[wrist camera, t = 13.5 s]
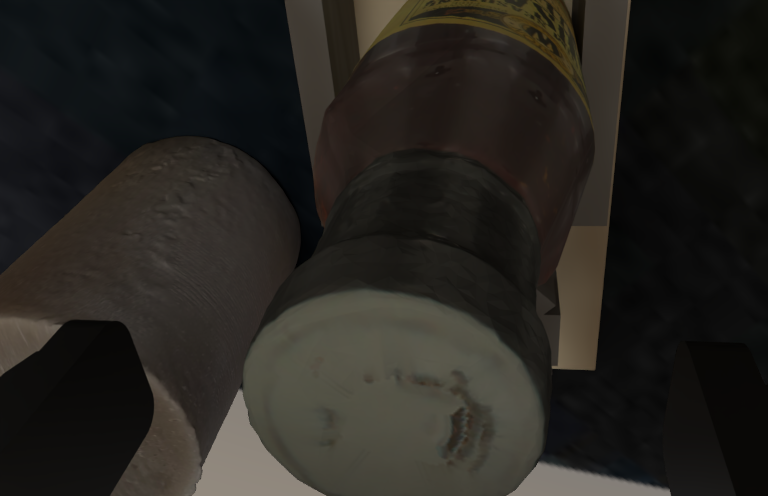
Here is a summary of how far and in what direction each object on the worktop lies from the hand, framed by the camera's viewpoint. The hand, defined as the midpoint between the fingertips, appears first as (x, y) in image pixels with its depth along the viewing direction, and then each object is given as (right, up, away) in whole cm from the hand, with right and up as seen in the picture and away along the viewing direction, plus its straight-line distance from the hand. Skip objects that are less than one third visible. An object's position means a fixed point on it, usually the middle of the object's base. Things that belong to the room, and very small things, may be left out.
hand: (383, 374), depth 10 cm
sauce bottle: (+4, +10, +15) cm, 19 cm away
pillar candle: (-9, +3, +24) cm, 25 cm away
